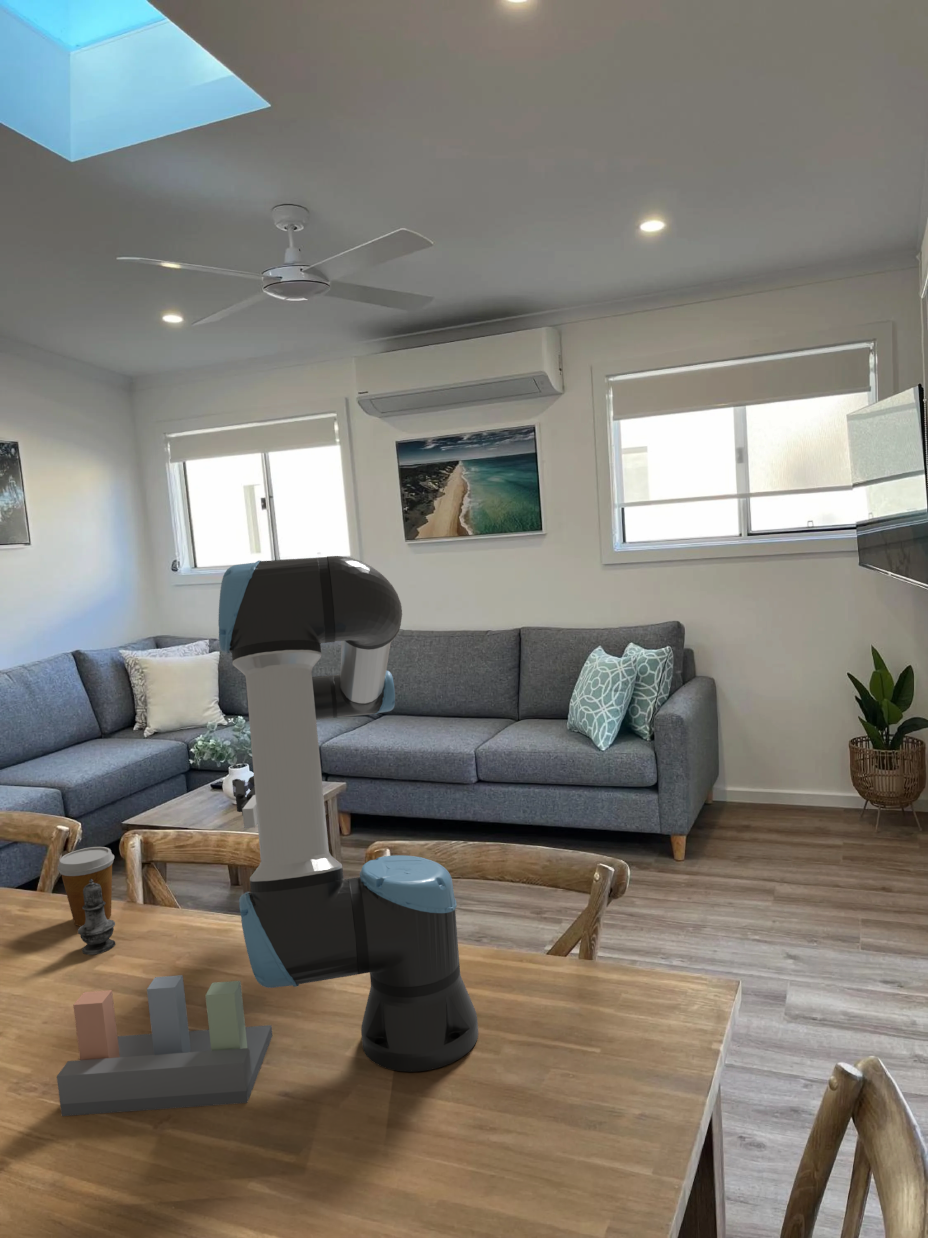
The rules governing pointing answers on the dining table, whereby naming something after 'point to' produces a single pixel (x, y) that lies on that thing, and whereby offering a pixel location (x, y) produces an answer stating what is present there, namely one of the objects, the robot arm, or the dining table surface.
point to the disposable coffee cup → (86, 878)
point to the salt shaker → (95, 922)
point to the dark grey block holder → (163, 1076)
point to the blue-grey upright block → (168, 1015)
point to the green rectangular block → (226, 1016)
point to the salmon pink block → (96, 1025)
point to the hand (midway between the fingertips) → (248, 818)
